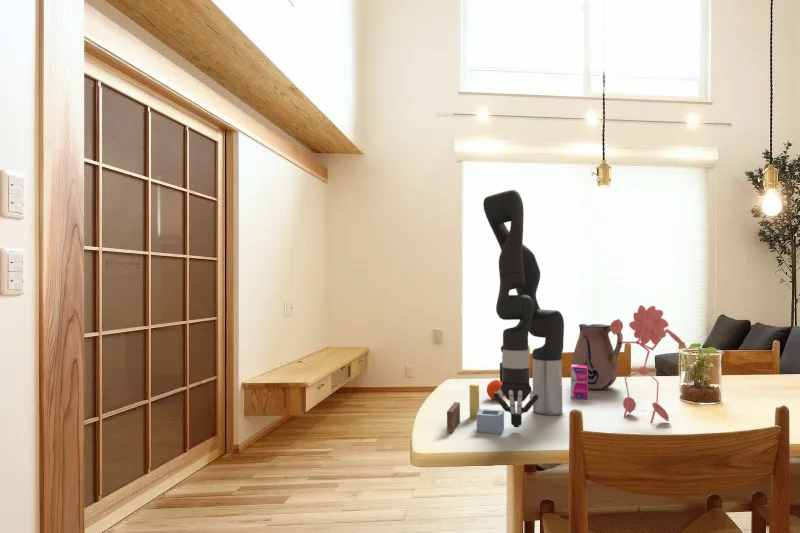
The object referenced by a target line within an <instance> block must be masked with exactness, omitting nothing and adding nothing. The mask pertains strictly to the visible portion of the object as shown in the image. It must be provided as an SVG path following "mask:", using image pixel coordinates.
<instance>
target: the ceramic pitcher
mask: <svg viewBox="0 0 800 533" xmlns="http://www.w3.org/2000/svg"><path fill="white" fill-rule="evenodd" d="M610 325H611V324H609V325H608V324H601V323H599V324H598V323H597V324H596V323H592V324H585V323H581V324H580V323H579V325H578V326H579V333H578V334H579V335H578V338H577V342H576V345H575V347H574V350H573V354H572V359H571V362H570V364H571V365H570V367H571V366H572V365H586V366H588V390H598V389H600V390H607V389H608V388H610V387H612V385H614V383H615V382H616V380H617V378H618V373H619V367H618V362H617V359H618V357H619V355H620V353H621V349H622V346H623V343H621V342H620V335H619V333H617V334H616V337H617V339H616V345H615V348H614V347H613V345H612V342H611V338H610V334H609V333H610V332H611V333H612V331H611V329H610ZM621 336H622V342H624V340H623V334H622V332H621Z"/></svg>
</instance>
